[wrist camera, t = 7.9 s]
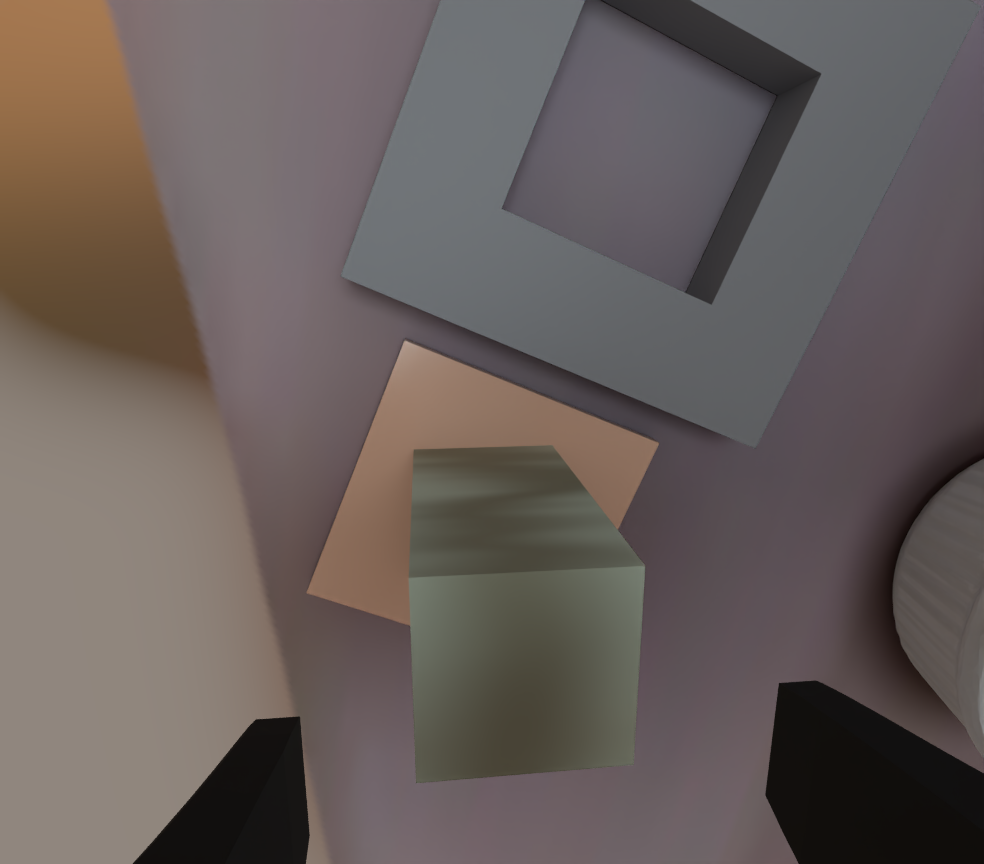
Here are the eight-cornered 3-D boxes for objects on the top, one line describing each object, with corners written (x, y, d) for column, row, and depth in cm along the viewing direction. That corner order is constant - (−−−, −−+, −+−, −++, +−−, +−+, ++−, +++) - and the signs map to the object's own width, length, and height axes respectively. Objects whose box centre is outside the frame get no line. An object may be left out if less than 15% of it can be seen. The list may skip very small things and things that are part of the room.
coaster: (652, 438, 20) (659, 443, 19) (547, 659, 21) (550, 670, 20) (405, 338, 18) (404, 340, 18) (309, 583, 20) (306, 592, 19)
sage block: (552, 445, 19) (645, 565, 11) (549, 571, 20) (633, 764, 12) (413, 449, 18) (408, 577, 11) (417, 578, 19) (415, 783, 12)
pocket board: (919, 35, 18) (981, 6, 16) (722, 431, 20) (755, 448, 18) (522, -200, 15) (537, -268, 13) (349, 276, 18) (340, 276, 16)
